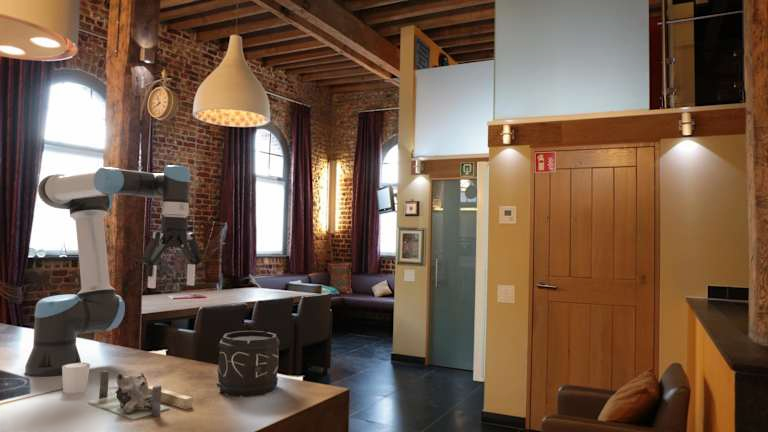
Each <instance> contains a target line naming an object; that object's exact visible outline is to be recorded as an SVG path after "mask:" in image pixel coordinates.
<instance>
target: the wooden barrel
mask: <svg viewBox="0 0 768 432" xmlns="http://www.w3.org/2000/svg"><path fill="white" fill-rule="evenodd" d="M279 345H280V339H279V338H278V335H277V334H276V333H275V332H274V333H273V332H270V331H269V332H268V331H267V332H266V331H263V330H262V331H261V330H237V331H233V332H227V333H224V334H223V336H222V338H221V339H220V341H219V343H218V347H219V352H218V353H219V354H218V358H217V359H218V361H217V363H218V364H217V373H218V377H217V378H218V380H217V381H216V387H217V388H219V392H220V393H223V394H224V395H226V394H227V395H226V396H228V395H230V397H238V396H243V397H242V398H249V397H250V398H251V397H260V396H264V395H267V394H269V393H273V392H274V391H275V387H277V385H278V379H279V377H278V370H279Z"/></svg>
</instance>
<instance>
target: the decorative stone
mask: <svg viewBox="0 0 768 432" xmlns="http://www.w3.org/2000/svg"><path fill="white" fill-rule="evenodd" d="M115 377H116V383H117V389H116V390H115V392H114V393H115V395H117V399H118V400H119V402H120V408H123V411H124V412H125V413H126V412H128V413H132V412H134V410H136V409H137V408H148V409H150V410H151V411H152V392H151V394H149V395H147V393H148V385H149V384H148V382H147V381H148V380H147V378H146V377H145V375H144V373H143V372H141V373H140V374H138V375H129V376H128V377H125V376H123V375H122V374H121V373H120V372H119V373H118V374H117V375H116V376H115Z"/></svg>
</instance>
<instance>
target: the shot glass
mask: <svg viewBox="0 0 768 432" xmlns="http://www.w3.org/2000/svg"><path fill="white" fill-rule="evenodd" d="M90 366H91V364H90V363H88V362H81V363H71V364H66V365H63V366H62V374H61V376H62V391H63V393H65V394H77V393H83V392H85V391H86V390H87V387H88V381H89V375H90V374H89V373H90Z"/></svg>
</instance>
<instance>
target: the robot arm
mask: <svg viewBox="0 0 768 432" xmlns="http://www.w3.org/2000/svg"><path fill="white" fill-rule="evenodd" d="M190 187H191V170H190V168H189V167H187V166H184V165H183V166H182V165H166V166H165V167H164V169H163V172H162V173H155V172H146V171H139V170H129V169H123V168H118V167H117V168H116V167H113V166H112V167H111V166H110V167H109V166H108V167H105V166H103V167H100V168H98V170H96V171H94V172H93V171H92V172H86V173H79V174H74V175H68V174H61V173H57V174H50V175H48V176H45V177H44V178H43V179H41V181H40V182H39V184H38V187H37V192H38V193H37V194H38V196H39V198H40V200H42V202H43V203H44V204H46V205H48V206H49V207H52V208H55V209H59V210H60V209H61V210H69V216H70V218H71V219H72V220H74V221H75V229H76V230H75V231H76V241H77V249H78V250H77V251H78V264H79V273H80V274H79V275H80V285H81V289H80V291H78V293H76V294H72V293H71V294H69V293H67V294H58V295H56V294H55V295H52V296H48V297H44V298H42V299H39V300H38V301H37V303H36V304H35V311H34V329H33V346H32V349H31V351H30V354H29V357H28V358H27V362H26V363H25V368H24V369H25V372H24V373H25V374H26V375H29V376H36V377H50V376H51V377H52V376H59V375H61V376H62V366H63V365H66V364H71V363H82V359H81V357H80V353H79V350H78V348H77V335H80V334H81V335H82V334H90V333H96V332H106V331H109V330H113V329H115V328H117V327H119V325H120V324H121V323H122V321H123V318H124V316H125V312H126V311H125V310H126V308H125V307H126V305H125V301H124V300H123V298H122V296H121V295H118V294H117V293H116V288H114V287H113V286H111V283H110V273H109V264H108V254H107V244H106V242H107V241H106V233H105V232H106V231H105V224H104V219H105V218H106V216H108V211H110V210H111V208H112V207H113V202H114V196H115V195H125V196H126V195H127V196H133V197H134V196H135V197H136V196H137V197H144V198H146V199H147V198H148V199H149V198H150V199H156V198H162V204H161V205H162V206H161V207H162V208H161V215H162V217H161V229H162V230H161V232H160V231H152V232H151V235H150V236H151V238H150V239H149V240H150V241H149V242H148V245H146V248H145V250H144V252H143V254H142V256H141V258H140V260H139V263H140V264H144V265H145V266H146V269H145V275H146V277H147V288H149V289H156V286H157V285H156V284H157V267H158V266H157V265H155V264H156V262H158V260H159V259H160V258H161V256H162V255H163V254H164V253H165V252H166V250H167V249H169V248H179V249H180V250H181V251H182V254H183V255H184V256H185V258H186V259H187V261H188V263H189V264H187V269H186V270H187V273H186V276H187V277H186V286H193V287H194V286H195V279H196V278H195V275H197V273H198V272H197V271H198V270H197V268H198V265H199V264H200V263H202V262H203V261H204V260H203V257H202V254H201V251H200V248H199V246H198V241H197V240H196V239H197V238H196V233H194V232H188V233H187V231H188V226H189V219H188V216H189V208H190V207H189V205H190V203H189V201H190V192H191V191H190ZM160 240H161V242H160ZM186 240H187V241H186Z"/></svg>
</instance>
